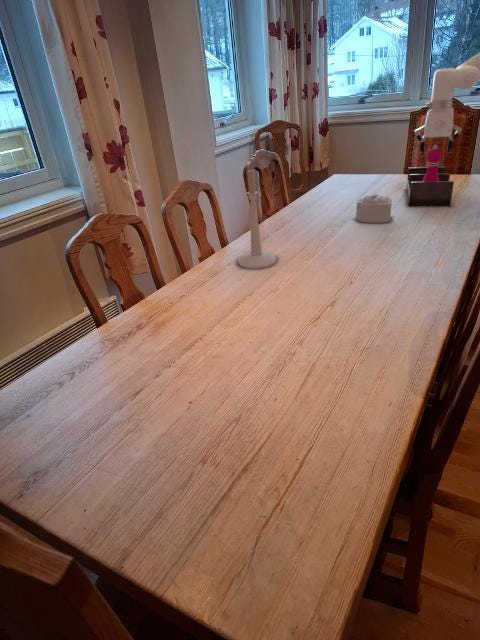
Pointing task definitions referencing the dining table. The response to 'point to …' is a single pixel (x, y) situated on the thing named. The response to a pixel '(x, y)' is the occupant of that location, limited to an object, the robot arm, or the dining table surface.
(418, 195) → the shelf
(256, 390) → the dining table surface
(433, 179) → the pepper mill
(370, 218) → the lumpy-topped squat cylinder
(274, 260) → the candlestick
